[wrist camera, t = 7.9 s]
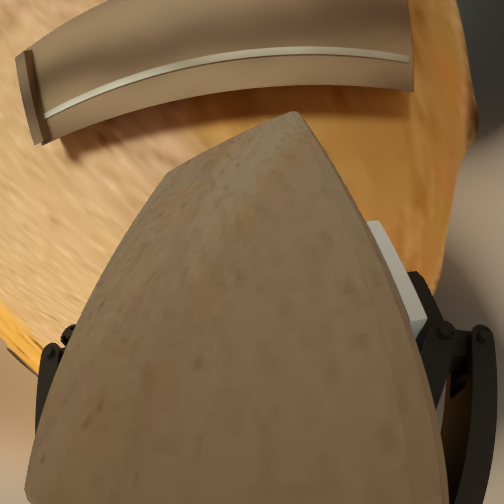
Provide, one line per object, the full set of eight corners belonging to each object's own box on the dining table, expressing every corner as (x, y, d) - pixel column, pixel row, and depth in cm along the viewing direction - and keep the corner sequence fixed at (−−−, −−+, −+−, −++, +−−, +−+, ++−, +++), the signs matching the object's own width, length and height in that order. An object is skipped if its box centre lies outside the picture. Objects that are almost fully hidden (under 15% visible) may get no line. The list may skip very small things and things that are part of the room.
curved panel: (39, 50, 13) (13, 55, 10) (388, -18, 10) (409, -28, 7) (58, 136, 18) (34, 150, 16) (398, 87, 15) (420, 94, 13)
